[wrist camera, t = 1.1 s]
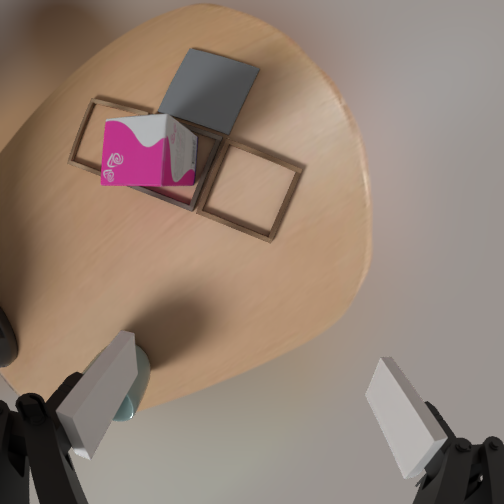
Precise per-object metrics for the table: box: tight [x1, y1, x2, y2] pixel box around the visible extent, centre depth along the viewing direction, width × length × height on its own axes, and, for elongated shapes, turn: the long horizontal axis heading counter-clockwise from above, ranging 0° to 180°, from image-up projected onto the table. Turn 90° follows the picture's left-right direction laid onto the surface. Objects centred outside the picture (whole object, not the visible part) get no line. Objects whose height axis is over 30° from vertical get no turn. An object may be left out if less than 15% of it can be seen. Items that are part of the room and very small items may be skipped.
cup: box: [82, 345, 151, 421], centre depth 31 cm, size 8×8×10 cm
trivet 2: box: [196, 138, 302, 243], centre depth 31 cm, size 9×9×1 cm
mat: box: [158, 49, 260, 135], centre depth 28 cm, size 9×9×1 cm
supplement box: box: [101, 114, 198, 186], centre depth 25 cm, size 6×6×12 cm
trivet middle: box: [128, 122, 223, 212], centre depth 30 cm, size 9×9×1 cm
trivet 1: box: [67, 98, 150, 176], centre depth 29 cm, size 9×9×1 cm
